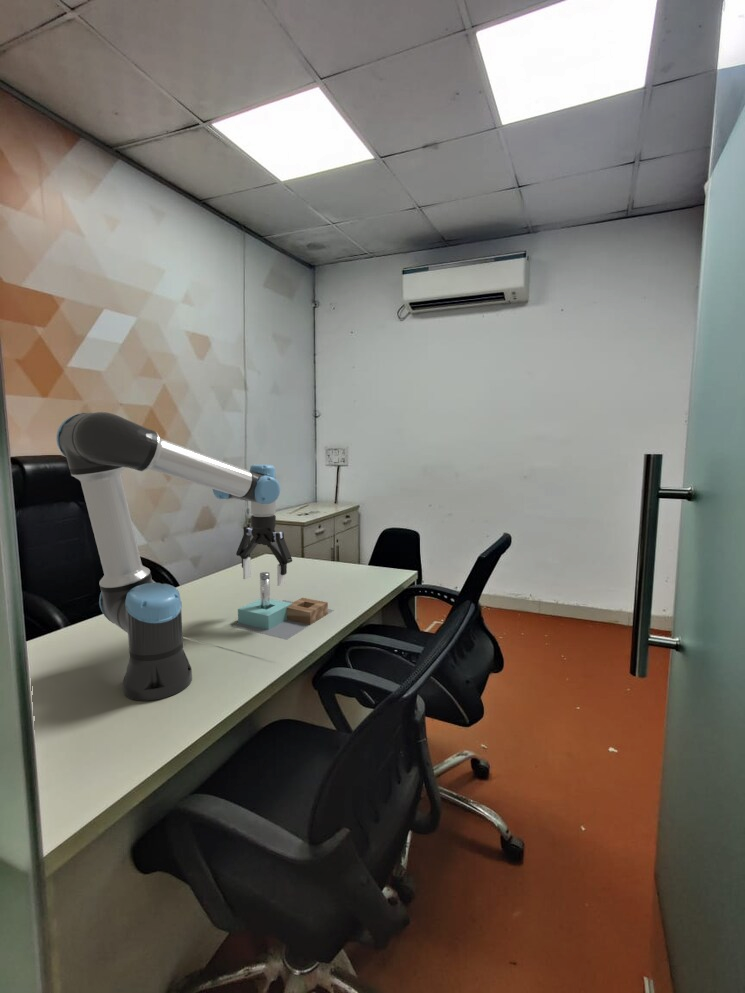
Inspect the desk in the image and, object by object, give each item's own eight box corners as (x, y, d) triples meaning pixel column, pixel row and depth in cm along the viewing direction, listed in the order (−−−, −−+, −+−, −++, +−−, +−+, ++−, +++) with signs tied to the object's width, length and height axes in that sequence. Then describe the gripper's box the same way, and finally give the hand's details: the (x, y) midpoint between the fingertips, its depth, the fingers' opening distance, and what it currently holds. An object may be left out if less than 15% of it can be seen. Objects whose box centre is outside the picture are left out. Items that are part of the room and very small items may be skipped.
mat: (286, 641, 139) (286, 639, 139) (231, 627, 148) (231, 625, 148) (334, 611, 162) (334, 610, 162) (283, 601, 171) (283, 599, 171)
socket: (268, 629, 146) (268, 615, 145) (238, 622, 151) (237, 609, 150) (292, 616, 156) (292, 603, 156) (263, 610, 162) (263, 597, 161)
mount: (310, 624, 149) (310, 612, 149) (284, 619, 154) (284, 607, 153) (327, 614, 158) (327, 602, 158) (302, 608, 163) (302, 597, 162)
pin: (266, 621, 152) (265, 575, 150) (259, 620, 153) (257, 574, 151) (272, 618, 154) (271, 572, 152) (265, 616, 156) (264, 571, 154)
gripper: (303, 516, 147) (303, 584, 149) (240, 509, 158) (241, 572, 161) (288, 520, 140) (288, 590, 143) (224, 512, 151) (225, 578, 154)
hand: (263, 581), depth 152 cm, fingers open, 13 cm apart
